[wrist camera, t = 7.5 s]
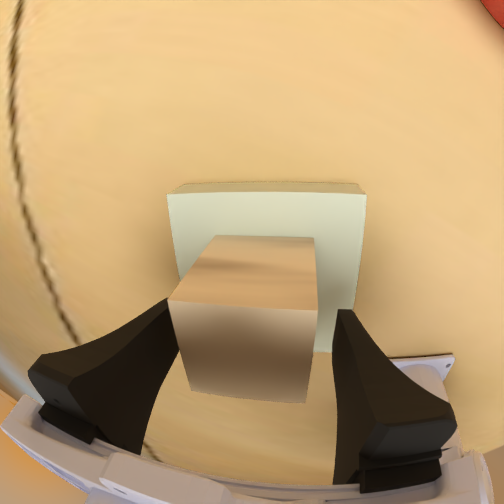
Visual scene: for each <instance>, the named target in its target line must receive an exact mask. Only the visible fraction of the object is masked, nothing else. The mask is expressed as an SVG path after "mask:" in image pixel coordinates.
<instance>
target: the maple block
mask: <svg viewBox="0 0 504 504" xmlns="http://www.w3.org/2000/svg"><path fill="white" fill-rule="evenodd" d="M167 301H168V306H169V310H170V314H171V318H172V323H173V327H174V331H175V334H176V338H177V342H178V346H179V350H180V353H181V357H182V360H183V364H184V367H185V371H186V374H187V378H188V381H189V384H190V387H191V391H196V392H201V393H207V394H214V395H220V396H227V397H235V398H243V399H252V400H262V401H273V402H287V403H305V402H306V396H307V390H308V384H309V377H310V371H311V364H312V357H313V349H314V342H315V334H316V325H317V316H318V296H317V277H316V261H315V247H314V238H307V237H274V236H235V235H215V236H214V237H213V239H212V240H211V241H210V243H209V244H208V245H207V247H206V248H205V249H204V251H203V252H202V253H201V255H200V256H199V257H198V259H197V260H196V261H195V263H194V264H193V265H192V267H191V268H190V269H189V271H188V272H187V273H186V275H185V276H184V277H183V279H182V280H181V282H180V283H179V284H178V286H177V287H176V288H175V290H174V291H173V293H172V294H171V295H170V297H169V298H168V300H167Z"/></svg>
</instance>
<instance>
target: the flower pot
mask: <svg viewBox="0 0 504 504" xmlns="http://www.w3.org/2000/svg"><path fill="white" fill-rule="evenodd" d="M481 1H482V3H483V4H484V6H485V7H486V9H487V10H488V11H489V13H490V14H491V15H492V16H493V17H494V19H495V20H496V21H497V22H498V23H499V24H500V25H501V26H502V27H503V28H504V0H481Z"/></svg>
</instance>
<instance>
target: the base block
mask: <svg viewBox="0 0 504 504" xmlns="http://www.w3.org/2000/svg"><path fill="white" fill-rule="evenodd" d="M166 195H167V203H168V210H169V217H170V224H171V231H172V237H173V244H174V250H175V256H176V262H177V267H178V273H179V279H180V282H181V280H182V279H183V277H184V276H185V275H186V273H187V272H188V271H189V269H190V268H191V267H192V265H193V264H194V263H195V261H196V260H197V259H198V257H199V256H200V255H201V253H202V252H203V251H204V249H205V248H206V247H207V245H208V244H209V243H210V241H211V240H212V239H213V237H214V236H215V235H235V236H274V237H307V238H314V247H315V261H316V277H317V296H318V316H317V325H316V334H315V342H314V349H313V352H332V341H333V335H334V330H335V324H336V318H337V311H338V309H352V310H353V306H354V300H355V294H356V288H357V282H358V275H359V268H360V260H361V252H362V244H363V235H364V225H365V213H366V201H367V194H366V193H365V192H364V191H363V190H362V189H361V188H360V187H359V185H358V184H344V183H317V182H227V183H200V184H184V185H182V186H180V187H179V188H177V189H175V190H173V191H172V192H170V193H168V194H166Z"/></svg>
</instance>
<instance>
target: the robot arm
mask: <svg viewBox="0 0 504 504" xmlns="http://www.w3.org/2000/svg"><path fill="white" fill-rule="evenodd" d="M167 300H168V298H166V299H164V300H162V301H160V302H159V303H157V304H156V305H154V306H153V307H151V308H150V309H148V310H147V311H145V312H144V313H142V314H141V315H139V316H138V317H136V318H135V319H133V320H132V321H130V322H128V323H127V324H125V325H123V326H122V327H120V328H119V329H117V330H115V331H113V332H111V333H109V334H107V335H105V336H103V337H101V338H99V339H96V340H94V341H91V342H89V343H86V344H84V345H81V346H78V347H75V348H71V349H67V350H64V351H59V352H54V353H49V354H42V355H41V356H40V357H39V358H38V359H37V361H36V362H35V363H34V364H33V365H32V366H31V368H30V369H29V370H28V377H29V379H30V381H31V382H32V384H33V386H34V387H35V388H36V390H37V391H38V393H39V394H40V395H41V397H42V398H43V399H44V401H45V403H44V405H43V406H42V405H41V404H40V403H39V402H37V401H36V400H34V399H32V398H31V397H29V396H28V395H26V394H24V395H23V396H22V397H21V399H20V400H19V401H18V403H17V404H16V405H15V406H14V408H13V409H12V411H11V412H10V413H9V415H8V416H7V417H6V419H5V420H4V421H3V423H2V424H1V426H0V427H1V429H2V430H3V431H4V432H5V433H6V434H7V435H8V436H9V437H10V438H11V439H12V440H13V441H14V442H15V443H16V444H17V445H18V446H20V447H21V448H22V449H23V450H24V451H25V452H26V453H27V454H28V455H30V456H31V457H32V458H34V459H35V460H36V461H38V462H39V463H41V464H42V465H43V466H45V467H46V468H48V469H49V470H50V471H52V472H53V473H55V474H56V475H58V476H59V477H61V478H62V479H64V480H66V481H67V482H69V483H70V484H72V485H74V486H75V487H77V488H79V489H80V490H82V491H84V492H86V493H87V494H89V495H88V497H87V499H86V501H85V504H494V495H493V488H492V483H491V478H490V475H489V471H488V468H487V464H486V462H485V459H484V457H483V455H482V453H481V452H478V451H475V450H473V449H471V450H469V451H467V452H465V451H464V450H463V447H462V443H461V439H460V435H459V432H458V428H457V422H456V419H455V415H454V412H453V409H452V407H451V405H450V402H449V399H448V396H447V393H446V390H445V387H444V385H443V381H444V379H445V377H446V376H447V374H448V372H449V370H450V368H451V367H452V365H453V363H454V361H455V357H454V355H442V356H432V357H420V358H405V359H388V358H387V356H386V355H385V354H384V353H383V352H382V351H381V349H380V348H379V347H378V346H377V345H376V343H375V342H374V341H373V339H372V338H371V337H370V335H369V334H368V333H367V331H366V330H365V328H364V327H363V325H362V324H361V322H360V321H359V319H358V318H357V316H356V315H355V313H354V312H353V310H352V309H338V311H337V318H336V324H335V330H334V335H333V341H332V366H333V374H334V382H335V391H336V399H337V443H336V457H335V468H334V477H333V485H288V484H273V483H262V482H253V481H246V480H238V479H232V478H226V477H220V476H215V475H210V474H205V473H200V472H196V471H191V470H187V469H183V468H179V467H176V466H172V465H168V464H165V463H162V462H158V461H155V460H152V459H149V458H146V457H143V456H140V454H141V449H142V445H143V440H144V436H145V432H146V428H147V424H148V421H149V418H150V415H151V411H152V408H153V405H154V403H155V400H156V397H157V394H158V392H159V389H160V387H161V385H162V383H163V381H164V379H165V377H166V375H167V373H168V371H169V369H170V368H171V366H172V364H173V362H174V360H175V358H176V356H177V354H178V352H179V346H178V342H177V338H176V334H175V331H174V327H173V323H172V318H171V314H170V310H169V306H168V301H167Z"/></svg>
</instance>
